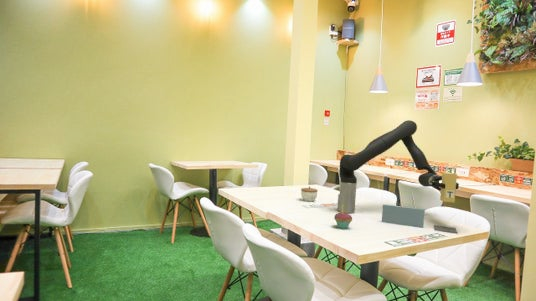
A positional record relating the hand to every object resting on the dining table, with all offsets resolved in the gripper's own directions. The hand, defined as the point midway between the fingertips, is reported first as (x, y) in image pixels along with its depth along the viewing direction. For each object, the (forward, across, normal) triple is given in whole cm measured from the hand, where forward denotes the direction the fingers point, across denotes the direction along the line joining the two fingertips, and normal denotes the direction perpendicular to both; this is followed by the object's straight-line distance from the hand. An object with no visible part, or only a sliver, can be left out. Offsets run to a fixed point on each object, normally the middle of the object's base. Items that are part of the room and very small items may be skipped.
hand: (450, 186), depth 171 cm
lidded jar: (-52, -68, +22) cm, 89 cm away
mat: (-2, 0, +22) cm, 22 cm away
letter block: (-3, 0, +8) cm, 8 cm away
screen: (-6, -20, +22) cm, 30 cm away
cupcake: (+11, -52, +22) cm, 57 cm away
